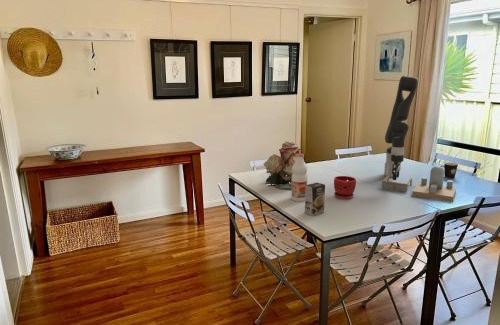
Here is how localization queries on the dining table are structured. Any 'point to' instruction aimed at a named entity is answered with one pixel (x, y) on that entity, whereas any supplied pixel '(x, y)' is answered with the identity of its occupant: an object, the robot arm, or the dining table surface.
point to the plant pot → (344, 187)
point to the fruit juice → (299, 179)
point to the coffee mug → (450, 169)
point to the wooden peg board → (435, 186)
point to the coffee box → (314, 199)
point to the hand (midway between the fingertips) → (395, 178)
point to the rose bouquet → (282, 165)
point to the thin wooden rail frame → (395, 185)
